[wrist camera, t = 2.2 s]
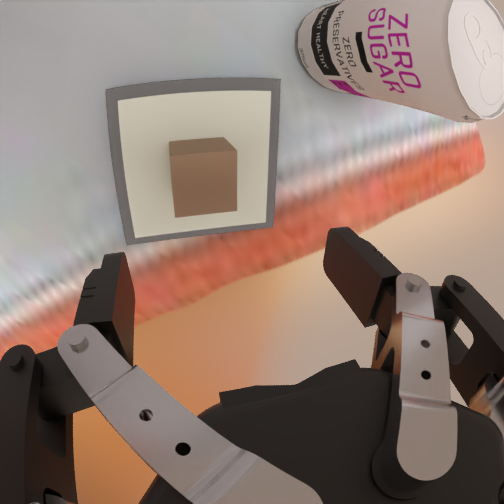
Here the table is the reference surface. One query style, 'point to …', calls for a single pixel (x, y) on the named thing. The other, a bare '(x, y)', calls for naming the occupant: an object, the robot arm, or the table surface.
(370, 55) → the supplement can
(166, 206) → the board
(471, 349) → the robot arm
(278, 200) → the table surface
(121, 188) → the rubber mat
